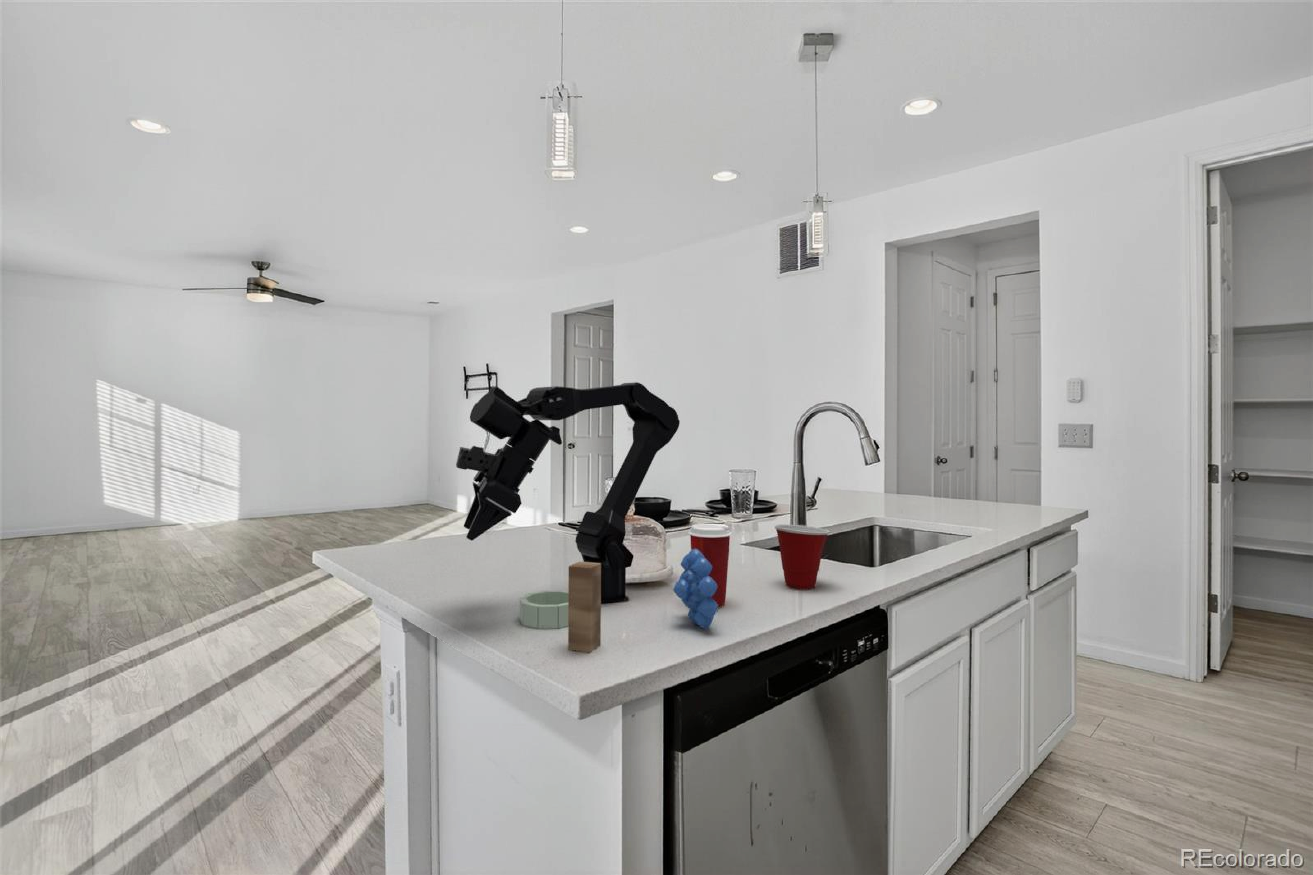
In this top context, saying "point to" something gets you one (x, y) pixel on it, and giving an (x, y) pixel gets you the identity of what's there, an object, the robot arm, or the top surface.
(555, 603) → the pale green faceted bowl
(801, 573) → the plastic cup
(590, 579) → the layered tan brick
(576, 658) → the top surface
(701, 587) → the grapes
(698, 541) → the paper cup
